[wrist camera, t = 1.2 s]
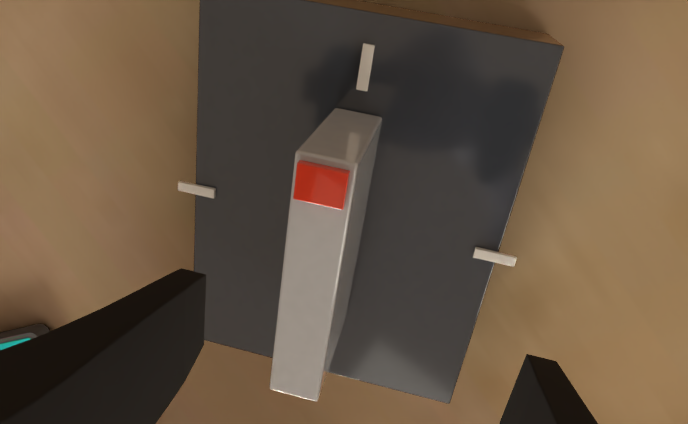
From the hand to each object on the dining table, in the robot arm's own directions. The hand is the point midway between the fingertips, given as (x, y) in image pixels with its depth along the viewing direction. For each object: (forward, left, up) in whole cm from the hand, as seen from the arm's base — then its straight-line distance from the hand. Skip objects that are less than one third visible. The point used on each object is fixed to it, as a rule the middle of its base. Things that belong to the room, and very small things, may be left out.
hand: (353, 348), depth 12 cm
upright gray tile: (-1, +2, -7) cm, 7 cm away
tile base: (-1, +2, -10) cm, 10 cm away
